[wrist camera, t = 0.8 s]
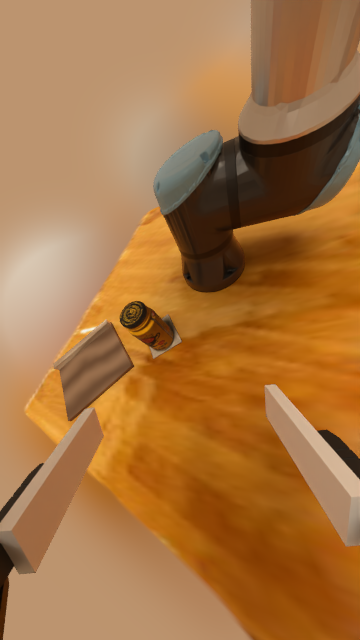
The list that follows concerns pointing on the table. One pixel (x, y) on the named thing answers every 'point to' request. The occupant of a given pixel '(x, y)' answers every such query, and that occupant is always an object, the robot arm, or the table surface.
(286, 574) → the table surface
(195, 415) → the table surface
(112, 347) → the dock board
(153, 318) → the condiment
